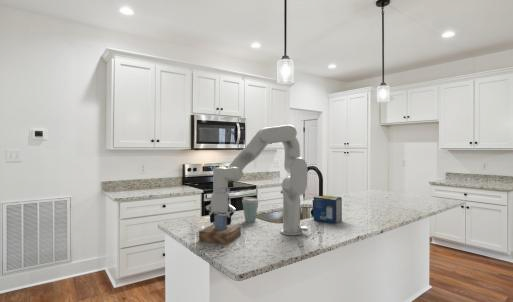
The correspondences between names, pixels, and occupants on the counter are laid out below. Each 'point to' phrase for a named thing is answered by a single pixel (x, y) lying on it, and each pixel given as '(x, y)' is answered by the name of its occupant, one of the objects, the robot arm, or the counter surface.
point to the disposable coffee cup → (250, 208)
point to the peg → (220, 222)
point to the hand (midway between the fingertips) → (220, 223)
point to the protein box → (328, 209)
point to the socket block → (219, 234)
